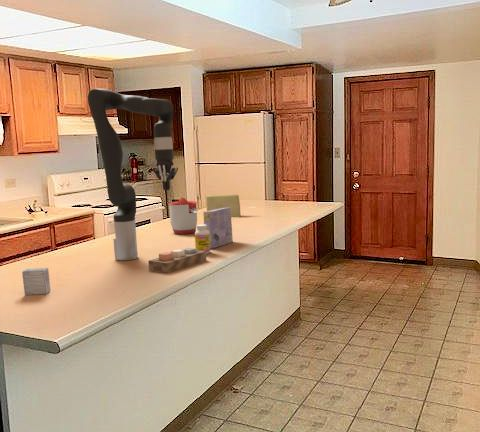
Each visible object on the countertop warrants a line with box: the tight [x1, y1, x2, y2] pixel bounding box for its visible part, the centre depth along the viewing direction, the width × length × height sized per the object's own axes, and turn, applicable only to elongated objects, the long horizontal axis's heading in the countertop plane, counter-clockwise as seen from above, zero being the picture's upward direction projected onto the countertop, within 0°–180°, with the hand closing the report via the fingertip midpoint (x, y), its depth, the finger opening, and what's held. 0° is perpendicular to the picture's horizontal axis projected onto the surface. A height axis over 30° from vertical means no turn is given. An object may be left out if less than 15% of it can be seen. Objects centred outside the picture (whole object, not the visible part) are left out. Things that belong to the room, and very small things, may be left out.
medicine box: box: [21, 267, 51, 296], centre depth 192 cm, size 8×4×9 cm, turn 92°
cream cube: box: [170, 249, 185, 258], centre depth 224 cm, size 4×4×4 cm
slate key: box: [182, 247, 196, 254], centre depth 230 cm, size 4×4×4 cm
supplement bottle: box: [194, 223, 211, 254], centre depth 246 cm, size 7×7×13 cm
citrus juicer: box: [168, 196, 199, 235], centre depth 301 cm, size 16×17×20 cm
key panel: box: [147, 250, 207, 274], centre depth 224 cm, size 24×10×4 cm, turn 143°
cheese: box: [205, 193, 241, 218], centre depth 354 cm, size 22×10×15 cm, turn 66°
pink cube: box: [158, 251, 173, 261], centre depth 219 cm, size 4×4×4 cm
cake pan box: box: [202, 207, 234, 249], centre depth 262 cm, size 19×5×18 cm, turn 149°
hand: (166, 190), depth 225 cm, fingers closed
